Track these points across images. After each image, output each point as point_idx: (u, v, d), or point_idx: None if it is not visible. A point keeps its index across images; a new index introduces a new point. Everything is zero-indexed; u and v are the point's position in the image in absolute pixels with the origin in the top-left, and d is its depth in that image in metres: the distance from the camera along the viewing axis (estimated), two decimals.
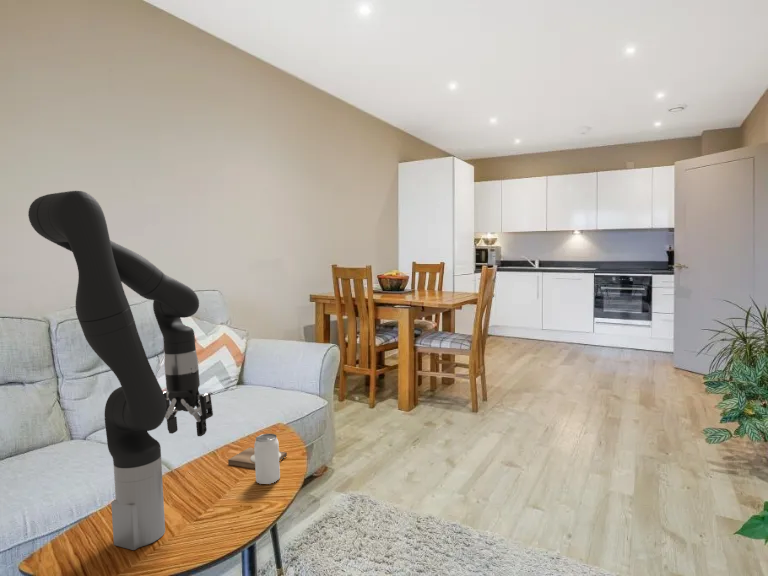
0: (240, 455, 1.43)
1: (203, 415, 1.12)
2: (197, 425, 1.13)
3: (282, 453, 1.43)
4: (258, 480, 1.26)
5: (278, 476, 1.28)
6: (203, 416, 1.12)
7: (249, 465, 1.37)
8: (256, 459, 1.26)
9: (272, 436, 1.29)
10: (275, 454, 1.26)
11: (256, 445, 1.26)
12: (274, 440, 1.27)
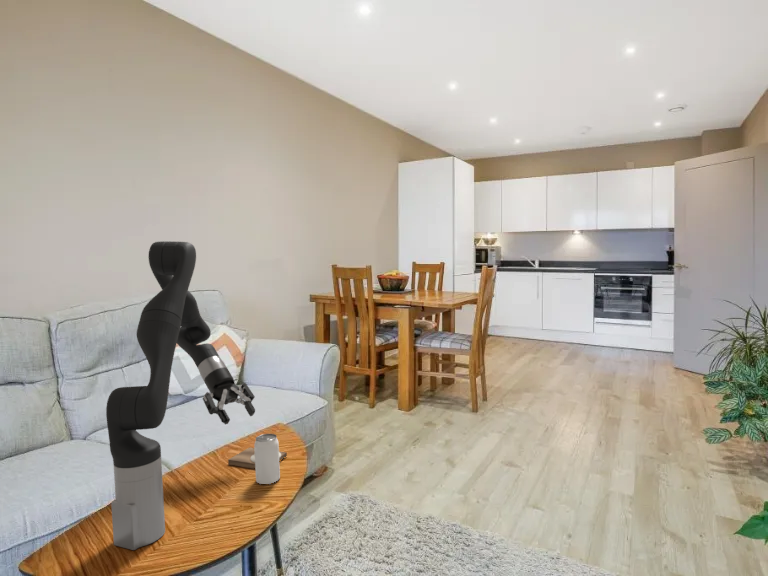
0: (240, 455, 1.43)
1: (251, 395, 1.41)
2: (249, 404, 1.39)
3: (282, 453, 1.43)
4: (258, 480, 1.26)
5: (278, 476, 1.28)
6: (251, 395, 1.41)
7: (249, 465, 1.37)
8: (256, 459, 1.26)
9: (272, 436, 1.29)
10: (275, 454, 1.26)
11: (256, 445, 1.26)
12: (274, 440, 1.27)
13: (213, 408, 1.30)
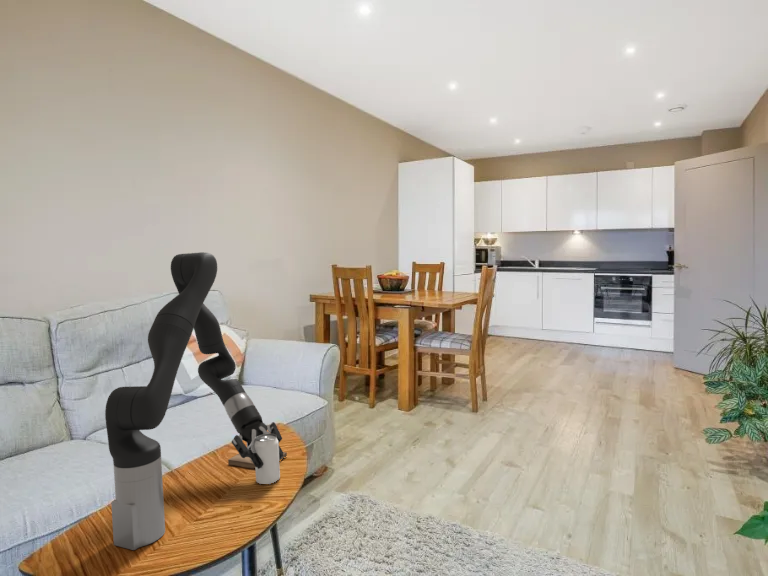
0: (240, 455, 1.43)
1: (278, 436, 1.33)
2: None
3: None
4: (258, 480, 1.26)
5: (278, 476, 1.28)
6: (279, 437, 1.33)
7: (249, 465, 1.37)
8: None
9: (272, 436, 1.29)
10: (275, 454, 1.26)
11: (256, 445, 1.26)
12: (274, 440, 1.27)
13: (246, 452, 1.24)
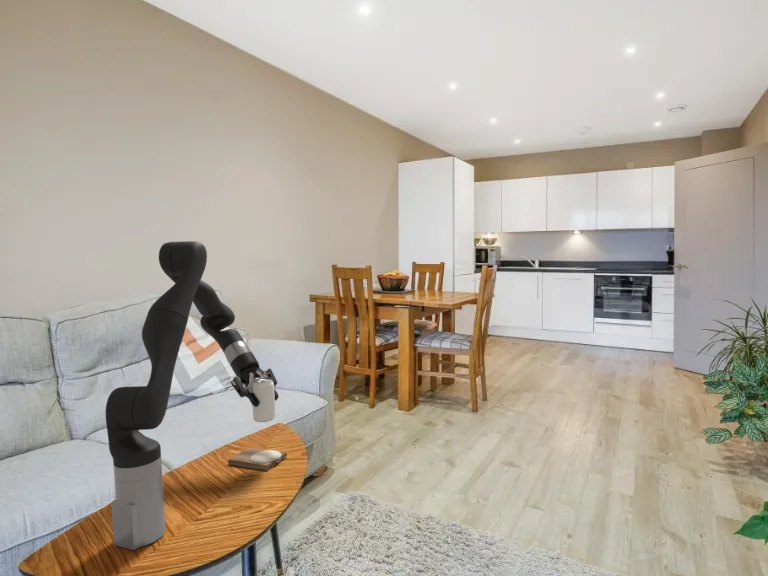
0: (240, 455, 1.43)
1: (274, 381, 1.45)
2: None
3: (282, 453, 1.43)
4: (255, 418, 1.37)
5: (273, 415, 1.39)
6: (274, 381, 1.45)
7: (249, 465, 1.37)
8: None
9: (268, 379, 1.41)
10: (271, 394, 1.38)
11: (253, 386, 1.37)
12: (270, 382, 1.38)
13: (244, 391, 1.35)
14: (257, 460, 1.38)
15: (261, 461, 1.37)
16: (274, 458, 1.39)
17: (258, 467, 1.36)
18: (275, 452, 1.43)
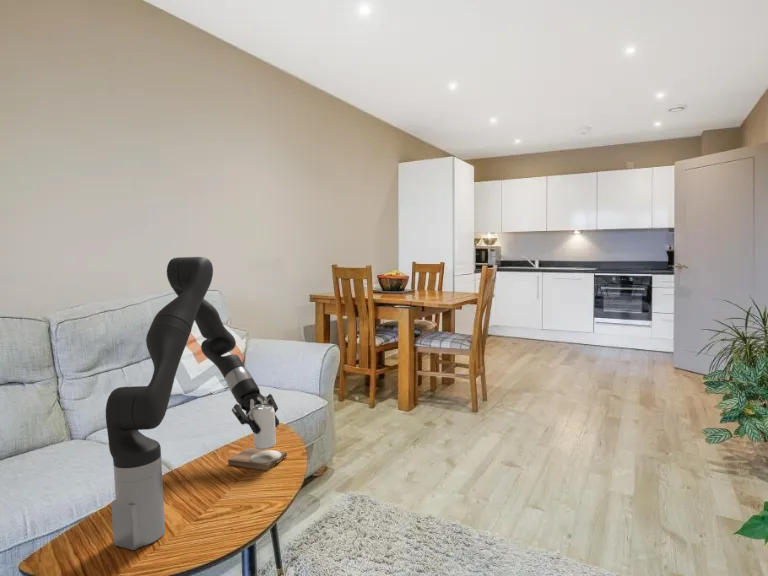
0: (240, 455, 1.43)
1: (275, 407, 1.45)
2: None
3: (282, 453, 1.43)
4: (256, 445, 1.38)
5: (274, 442, 1.40)
6: (275, 407, 1.45)
7: (249, 465, 1.37)
8: None
9: (269, 405, 1.41)
10: (272, 421, 1.39)
11: (254, 413, 1.38)
12: (270, 409, 1.39)
13: (245, 419, 1.36)
14: (257, 460, 1.38)
15: (261, 461, 1.37)
16: (274, 458, 1.39)
17: (258, 467, 1.36)
18: (275, 452, 1.43)
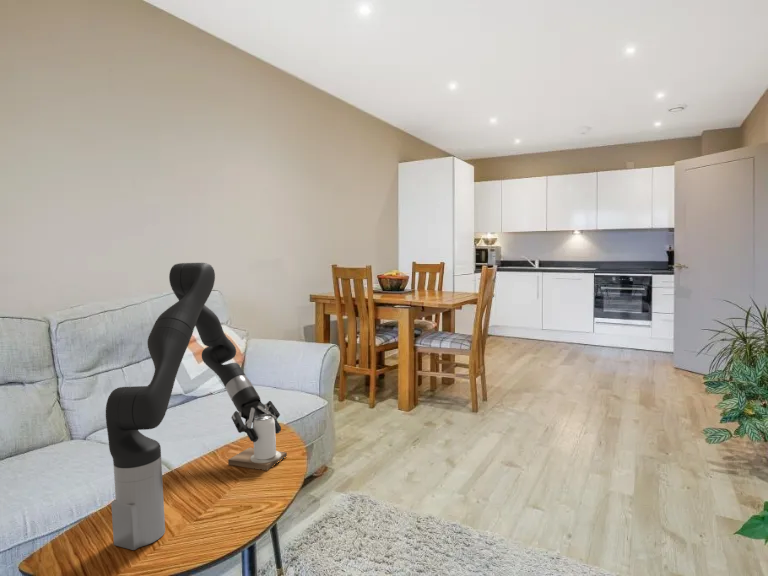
0: (240, 455, 1.43)
1: (277, 413, 1.46)
2: (275, 422, 1.44)
3: (282, 453, 1.43)
4: (256, 456, 1.38)
5: (274, 452, 1.40)
6: (277, 413, 1.46)
7: (249, 465, 1.37)
8: None
9: (269, 416, 1.41)
10: (272, 432, 1.39)
11: (254, 424, 1.38)
12: (271, 420, 1.39)
13: (242, 427, 1.35)
14: (257, 460, 1.38)
15: (261, 461, 1.37)
16: (274, 458, 1.39)
17: (258, 467, 1.36)
18: None
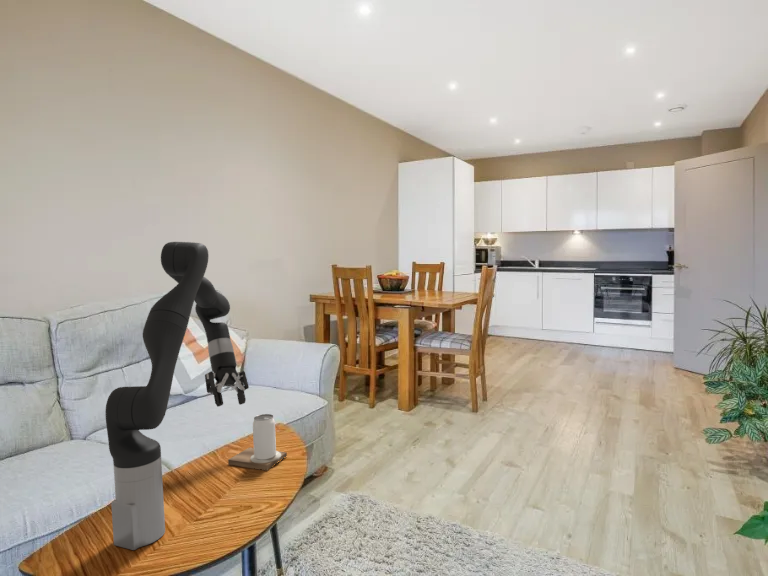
0: (240, 455, 1.43)
1: (246, 385, 1.50)
2: (242, 393, 1.47)
3: (282, 453, 1.43)
4: (256, 456, 1.38)
5: (274, 452, 1.40)
6: (246, 386, 1.50)
7: (249, 465, 1.37)
8: (254, 437, 1.38)
9: (269, 416, 1.41)
10: (272, 432, 1.39)
11: (254, 424, 1.38)
12: (271, 420, 1.39)
13: (212, 389, 1.39)
14: (257, 460, 1.38)
15: (261, 461, 1.37)
16: (274, 458, 1.39)
17: (258, 467, 1.36)
18: None
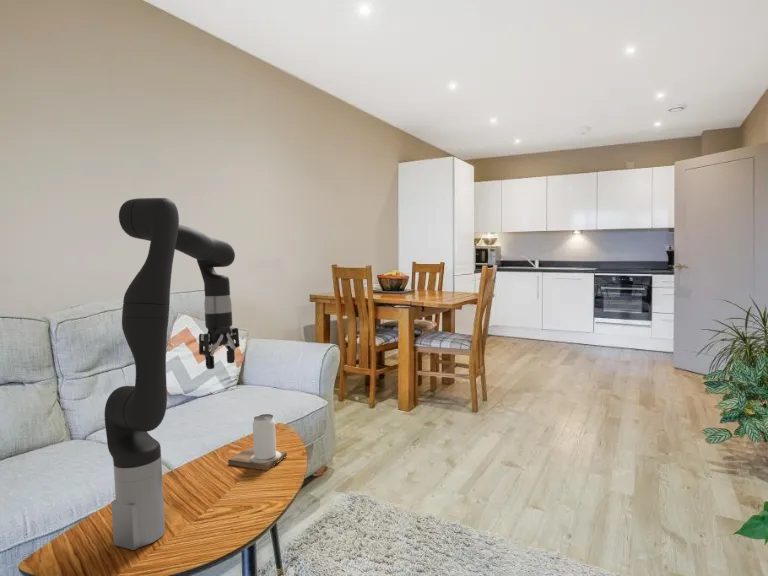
0: (240, 455, 1.43)
1: (237, 343, 1.43)
2: (233, 353, 1.41)
3: (282, 453, 1.43)
4: (256, 456, 1.38)
5: (274, 452, 1.40)
6: (237, 344, 1.43)
7: (249, 465, 1.37)
8: (254, 437, 1.38)
9: (269, 416, 1.41)
10: (272, 432, 1.39)
11: (254, 424, 1.38)
12: (270, 420, 1.39)
13: (206, 353, 1.31)
14: (257, 460, 1.38)
15: (261, 461, 1.37)
16: (274, 458, 1.39)
17: (258, 467, 1.36)
18: None
